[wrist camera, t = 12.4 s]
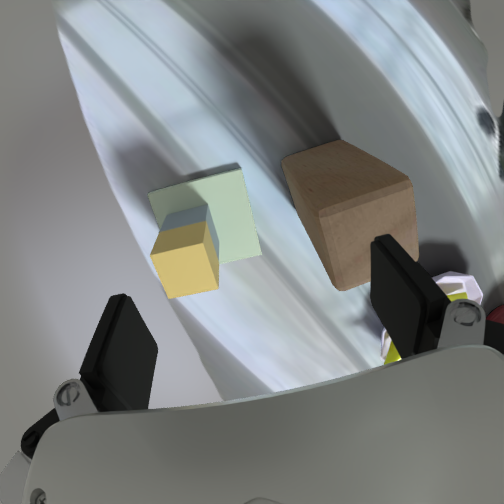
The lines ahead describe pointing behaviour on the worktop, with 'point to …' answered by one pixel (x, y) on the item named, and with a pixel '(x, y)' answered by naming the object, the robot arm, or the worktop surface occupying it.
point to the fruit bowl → (454, 289)
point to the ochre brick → (186, 260)
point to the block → (350, 207)
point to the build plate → (215, 210)
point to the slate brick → (192, 221)
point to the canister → (497, 315)
